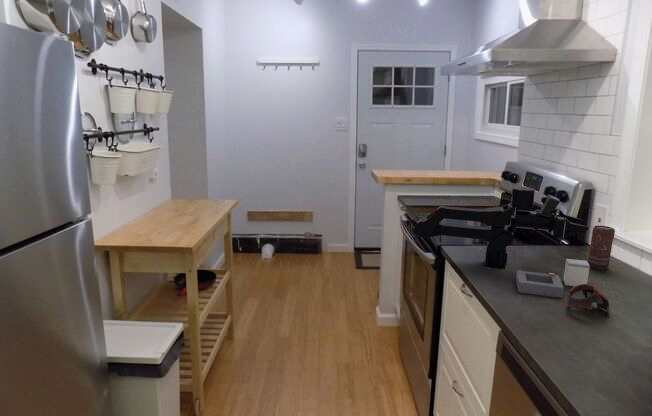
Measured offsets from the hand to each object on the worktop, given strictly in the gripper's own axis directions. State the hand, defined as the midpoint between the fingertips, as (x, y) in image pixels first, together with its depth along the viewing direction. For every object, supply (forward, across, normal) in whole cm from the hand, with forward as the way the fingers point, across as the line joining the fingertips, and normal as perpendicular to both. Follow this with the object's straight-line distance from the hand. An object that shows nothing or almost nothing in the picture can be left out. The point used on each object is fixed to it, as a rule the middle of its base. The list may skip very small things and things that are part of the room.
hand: (585, 224), depth 143 cm
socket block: (-13, -17, +17) cm, 27 cm away
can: (+8, +10, +17) cm, 21 cm away
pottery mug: (-2, -28, +17) cm, 33 cm away
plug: (-2, -9, +17) cm, 19 cm away
